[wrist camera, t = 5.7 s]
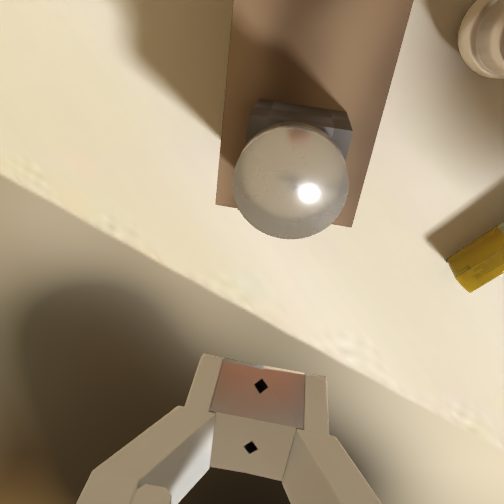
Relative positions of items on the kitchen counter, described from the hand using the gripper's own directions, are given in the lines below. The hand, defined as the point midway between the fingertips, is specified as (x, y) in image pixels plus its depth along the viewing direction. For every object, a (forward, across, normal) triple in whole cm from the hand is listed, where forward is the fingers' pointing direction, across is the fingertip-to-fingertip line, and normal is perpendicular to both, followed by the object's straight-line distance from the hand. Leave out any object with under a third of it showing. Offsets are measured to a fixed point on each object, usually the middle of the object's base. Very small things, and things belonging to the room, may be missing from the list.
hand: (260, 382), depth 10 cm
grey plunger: (+20, 0, 0) cm, 20 cm away
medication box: (+33, +22, -8) cm, 41 cm away
